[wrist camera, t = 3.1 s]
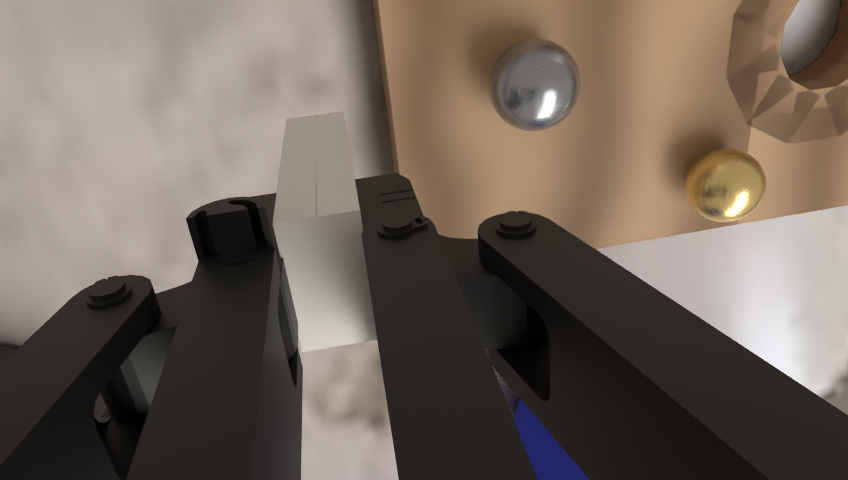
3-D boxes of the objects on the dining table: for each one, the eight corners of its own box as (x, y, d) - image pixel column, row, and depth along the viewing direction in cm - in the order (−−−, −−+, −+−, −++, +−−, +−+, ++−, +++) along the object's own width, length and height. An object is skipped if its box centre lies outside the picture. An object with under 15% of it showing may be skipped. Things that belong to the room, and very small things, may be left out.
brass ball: (668, 210, 28) (707, 240, 25) (674, 144, 26) (715, 168, 24) (732, 199, 28) (777, 227, 25) (741, 134, 27) (789, 156, 24)
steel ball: (481, 123, 24) (505, 149, 22) (476, 38, 23) (500, 53, 20) (561, 111, 25) (593, 135, 22) (561, 27, 23) (596, 40, 21)
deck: (404, 253, 29) (418, 298, 26) (352, -150, 22) (362, -166, 18) (874, 174, 32) (946, 205, 28) (967, -211, 25) (1079, -234, 21)
